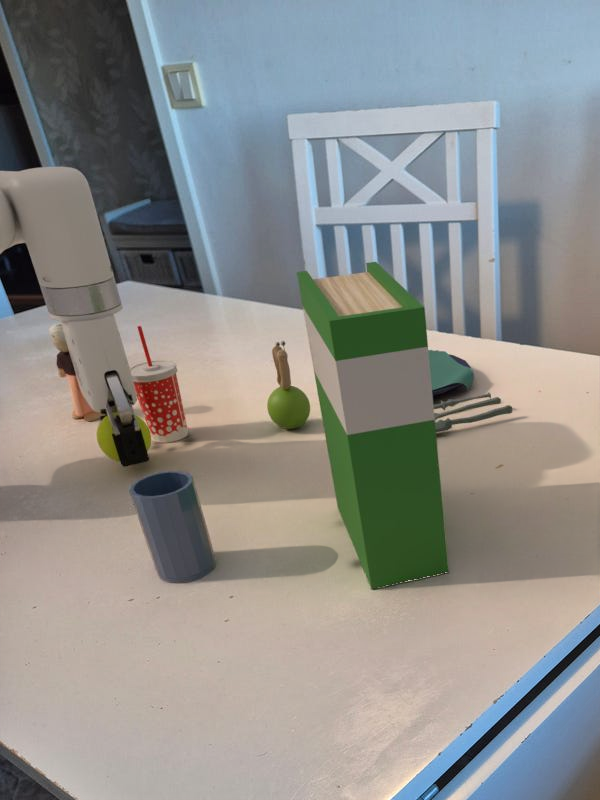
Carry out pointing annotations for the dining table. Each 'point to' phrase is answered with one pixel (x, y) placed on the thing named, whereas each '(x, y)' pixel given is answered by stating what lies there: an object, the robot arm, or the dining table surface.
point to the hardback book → (378, 420)
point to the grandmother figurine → (71, 376)
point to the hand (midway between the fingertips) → (128, 452)
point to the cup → (173, 526)
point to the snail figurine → (286, 395)
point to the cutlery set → (451, 374)
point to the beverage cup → (159, 397)
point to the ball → (107, 440)
